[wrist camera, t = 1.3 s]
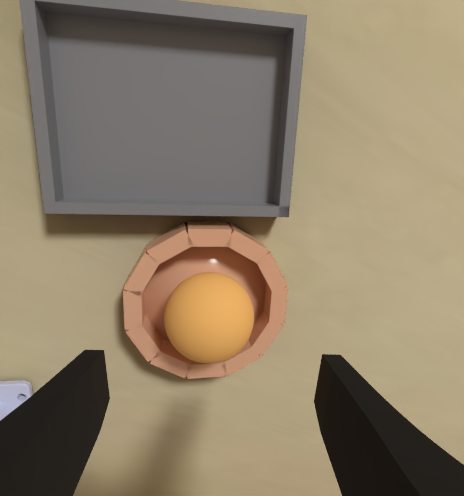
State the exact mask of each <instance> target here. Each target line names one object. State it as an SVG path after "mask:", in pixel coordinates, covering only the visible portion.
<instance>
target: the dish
mask: <svg viewBox="0 0 464 496" xmlns="http://www.w3.org/2000/svg"><path fill="white" fill-rule="evenodd" d="M203 272H216V273H221V274H224V275H227V276H229V277H231V278H233V279H234V280H236V281H237V282H238V283H239V284H241V286H242V287H243V288H244V289H245V291H246V292H247V294H248V295H249V297H250V299H251V302H252V305H253V310H254V324H253V329H252V332H251V335H250V337H249V339H248V341H247V342H246V344H245V345H244V347H243V348H242V349H241V350H240V351H239V352H238V353H237V354H235V355H234V356H232V357H231V358H229V359H227V360H225V361H222V362H218V363H200V362H195V361H193V360H190V359H188V358H186V357H185V356H183V355H182V354H181V353H180V352H178V351H177V350H176V348H175V347H174V346H173V345H172V343H171V341H170V340H169V338H168V335H167V333H166V329H165V322H164V313H165V308H166V304H167V301H168V299H169V297H170V295H171V293H172V292H173V291H174V289H175V288H176V287H177V286H178V285H179V284H180V283H181V282H182V281H184V280H185V279H187V278H188V277H190V276H192V275H195V274H198V273H203ZM287 286H288V285H287V283H286V281H285V279H284V277H283V276H282V274H281V272H280V270H279V268H278V266H277V264H276V262H275V260H274V258H273V256H272V254H271V252H270V251H269V250H268V249H267V248H266V247H265V245H264V244H263V243H262V242H261V241H259V240H258V239H256V238H254V237H252V236H251V235H249V234H247V233H246V232H244V231H242V230H241V229H239V228H237V227H236V226H234V225H232V224H231V223H229V224H228V223H227V222H187V224H185V222H184V223H182V224H180V225H179V226H177V227H175V228H173V229H171V230H169V231H168V232H166V233H164V234H162V235H160V236H159V237H157V238H155V239H153V240H151V241H150V242H149V244H147V245H146V247H145V249H144V250H143V252H142V254H141V256H140V257H139V259H138V261H137V262H136V264H135V266H134V267H133V269H132V271H131V273H130V274H129V276H128V279H127V281H126V283H125V286H124V288H123V306H124V325H125V330H126V333H127V335H128V336H129V337H130V339H131V340H132V341H133V343H134V344H135V345H136V347H137V348H138V349H139V351H140V352H141V354H142V355H143V356H144V358H145V359H146V360H147V362H149V361H150V364H152V365H154V366H157V367H159V368H161V369H164V370H166V371H168V372H171V373H173V374H175V375H178V376H180V377H182V378H185V377H186V376H187V379H193V378H209V377H225V372H226V374H227V375H230V374H232V373H234V372H236V371H237V370H239V369H241V368H243V367H245V366H247V365H248V364H250V363H252V362H254V361H256V360H258V359H259V358H261V357H260V355H262V356H263V355H264V353H265V352H266V351H267V349H268V348H269V346H270V345H271V343H272V342H273V341H274V339H275V338H276V336H277V335H278V333H279V332H280V331H281V329H282V328H283V324H285V314H286V304H287V294H288V287H287Z"/></svg>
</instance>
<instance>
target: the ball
mask: <svg viewBox="0 0 464 496" xmlns="http://www.w3.org/2000/svg"><path fill="white" fill-rule="evenodd" d="M164 322H165V329H166V333H167V335H168V338H169V340H170V341H171V343H172V345H173V346H174V347H175V348H176V350H177V351H178V352H180V353H181V354H182V355H183V356H185V357H186V358H188V359H190V360H193V361H195V362H200V363H218V362H222V361H225V360H227V359H229V358H231V357H232V356H234V355H235V354H237V353H238V352H239V351H240V350H241V349H242V348H243V347H244V345H245V344H246V342H247V341H248V339H249V337H250V335H251V332H252V329H253V324H254V310H253V305H252V302H251V299H250V297H249V295H248V294H247V292H246V291H245V289H244V288H243V287H242V286H241V284H239V283H238V282H237V281H236V280H234V279H233V278H231V277H229V276H227V275H224V274H221V273H216V272H203V273H198V274H195V275H192V276H190V277H188V278H187V279H185V280H184V281H182V282H181V283H180V284H179V285H178V286H177V287H176V288H175V289H174V291H173V292H172V293H171V295H170V297H169V299H168V301H167V304H166V308H165V313H164Z"/></svg>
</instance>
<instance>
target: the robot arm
mask: <svg viewBox="0 0 464 496" xmlns="http://www.w3.org/2000/svg"><path fill="white" fill-rule="evenodd" d="M21 394H24V395H26V396H22V395H21ZM109 399H110V397H109V389H108V380H107V372H106V364H105V355H104V350H84V351H83V352H82V353H81V354H80V355H78V356H77V357H76V358H75V359H74V360H73V361H72V362H70V363H69V364H68V365H67V366H66V367H65V368H63V369H62V370H61V371H60V372H59V373H58V374H57V375H55V376H54V377H53V378H52V379H51V380H50V381H49V382H47V383H46V384H45V385H44V386H43V387H41V388H40V389H39V390H38V391H37V392H36V393H34V394H33V391H32V386H31V384H30V383H29V382H28V381H25V380H18V381H1V382H0V496H73V494H74V491H75V489H76V487H77V484H78V482H79V480H80V477H81V475H82V473H83V470H84V468H85V466H86V463H87V461H88V459H89V456H90V454H91V451H92V449H93V447H94V444H95V442H96V440H97V437H98V435H99V432H100V430H101V426H102V423H103V420H104V417H105V413H106V410H107V406H108V403H109ZM314 403H315V408H316V413H317V418H318V422H319V427H320V431H321V434H322V438H323V441H324V444H325V447H326V450H327V452H328V455H329V458H330V461H331V464H332V467H333V470H334V473H335V476H336V479H337V482H338V485H339V487H340V490H341V493H342V496H464V465H463V464H462V463H460V462H459V461H458V460H456V459H455V458H454V457H452V456H451V455H450V454H448V453H447V452H446V451H445V450H443V449H442V448H441V447H439V446H438V445H437V444H436V443H434V442H433V441H432V440H431V439H429V438H428V437H427V436H426V435H424V434H423V433H422V432H421V431H420V430H418V429H417V428H416V427H415V426H414V425H413V424H412V423H410V422H409V421H408V420H407V419H406V418H405V417H404V416H402V415H401V414H400V413H399V412H398V411H397V410H396V409H395V408H394V407H393V406H392V405H390V404H389V403H388V402H387V401H386V400H385V399H384V398H383V397H382V396H381V395H380V394H379V393H378V392H377V391H376V390H375V389H374V388H373V387H372V386H371V385H370V384H369V383H368V382H367V381H366V380H365V379H364V378H363V377H362V376H361V375H360V374H359V373H358V372H357V371H356V370H355V369H354V368H353V367H352V366H351V365H350V364H349V363H348V362H347V361H346V360H345V359H344V358H343V357H342V356H341V355H325V354H322V359H321V365H320V370H319V376H318V382H317V387H316V393H315V399H314Z"/></svg>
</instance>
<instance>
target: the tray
mask: <svg viewBox="0 0 464 496" xmlns="http://www.w3.org/2000/svg"><path fill="white" fill-rule="evenodd" d="M20 9H21V17H22V26H23V35H24V44H25V52H26V61H27V70H28V78H29V87H30V96H31V104H32V113H33V122H34V130H35V139H36V148H37V157H38V165H39V174H40V183H41V191H42V200H43V209H44V214H108V215H178V216H249V217H289V208H290V197H291V186H292V175H293V164H294V153H295V142H296V131H297V120H298V109H299V98H300V87H301V76H302V65H303V54H304V43H305V32H306V21H307V15H300V14H291V13H283V12H274V11H265V10H256V9H247V8H239V7H230V6H221V5H212V4H203V3H194V2H186V1H177V0H20Z"/></svg>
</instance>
